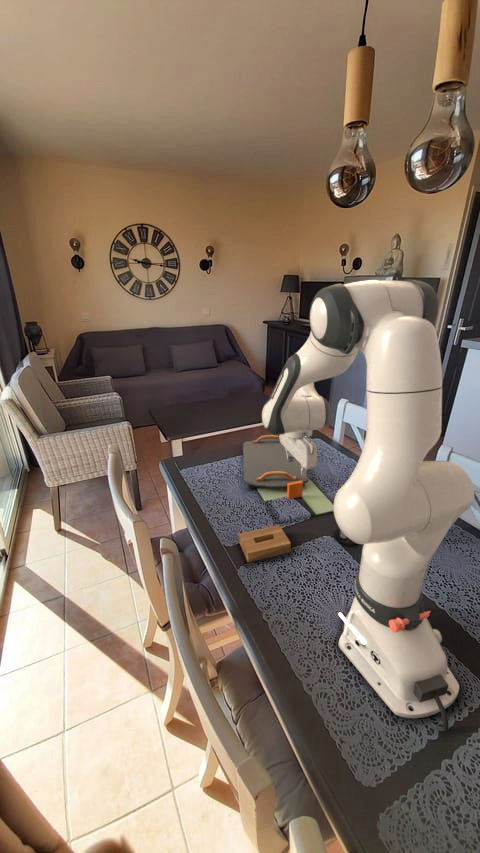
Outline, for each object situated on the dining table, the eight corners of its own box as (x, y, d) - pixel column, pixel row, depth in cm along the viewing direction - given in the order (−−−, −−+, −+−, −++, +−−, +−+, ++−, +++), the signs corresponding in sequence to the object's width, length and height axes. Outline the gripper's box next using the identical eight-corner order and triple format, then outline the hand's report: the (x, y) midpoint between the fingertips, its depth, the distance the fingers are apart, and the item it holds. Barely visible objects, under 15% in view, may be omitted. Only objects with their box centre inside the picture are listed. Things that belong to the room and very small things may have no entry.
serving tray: (311, 492, 123) (311, 476, 120) (243, 494, 123) (242, 478, 121) (295, 443, 158) (295, 430, 156) (242, 445, 159) (242, 432, 156)
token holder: (290, 554, 97) (290, 542, 95) (248, 565, 94) (247, 553, 92) (279, 535, 104) (279, 524, 102) (239, 545, 101) (238, 533, 99)
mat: (337, 510, 114) (337, 509, 114) (278, 523, 109) (278, 522, 109) (308, 478, 132) (308, 477, 131) (256, 489, 126) (256, 488, 126)
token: (302, 497, 120) (303, 482, 118) (288, 500, 119) (289, 485, 117) (300, 495, 121) (301, 480, 119) (287, 498, 120) (287, 483, 118)
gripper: (324, 439, 102) (321, 482, 107) (293, 415, 120) (292, 452, 125) (303, 443, 100) (301, 485, 105) (275, 417, 118) (275, 455, 123)
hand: (296, 467), depth 115 cm, fingers open, 8 cm apart
